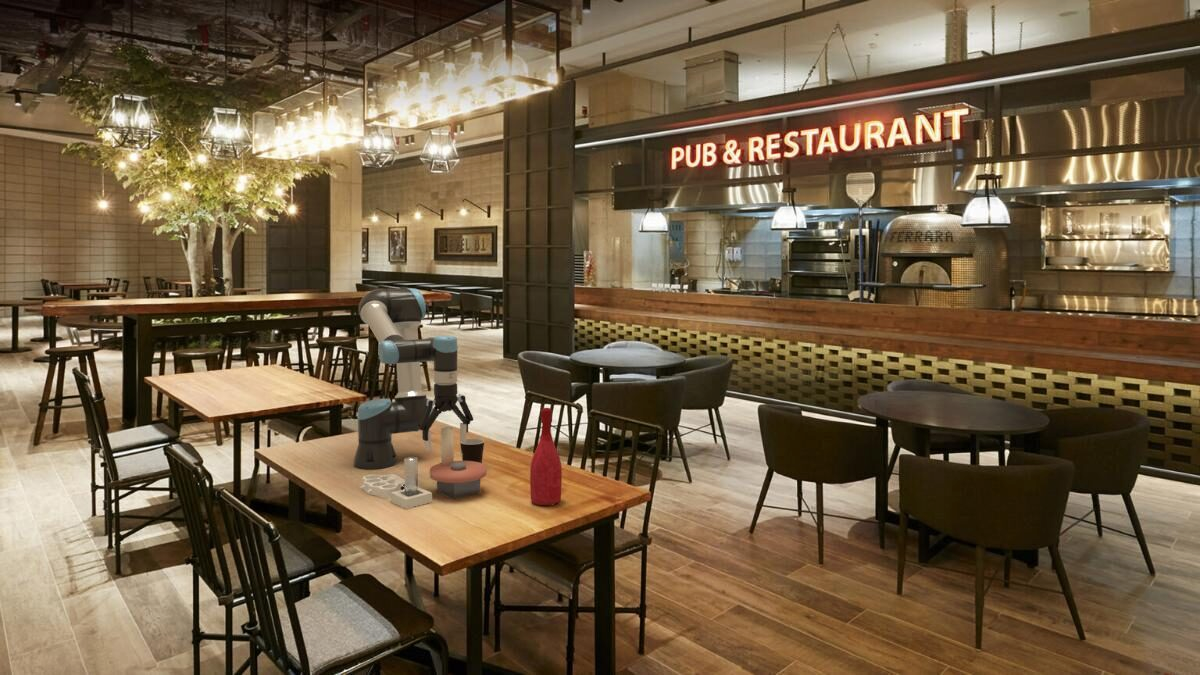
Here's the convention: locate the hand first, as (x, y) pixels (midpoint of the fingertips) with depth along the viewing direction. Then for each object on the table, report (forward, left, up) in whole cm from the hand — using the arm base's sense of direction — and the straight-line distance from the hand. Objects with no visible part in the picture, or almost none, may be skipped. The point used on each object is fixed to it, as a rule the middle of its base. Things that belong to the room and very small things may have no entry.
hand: (445, 446), depth 237 cm
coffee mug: (-13, +20, -14) cm, 28 cm away
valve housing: (+7, 0, -14) cm, 16 cm away
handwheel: (+7, 0, -8) cm, 11 cm away
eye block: (+5, -16, -14) cm, 22 cm away
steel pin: (+5, -16, -14) cm, 22 cm away
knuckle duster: (-12, -16, -14) cm, 25 cm away
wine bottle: (+33, +15, -14) cm, 39 cm away
